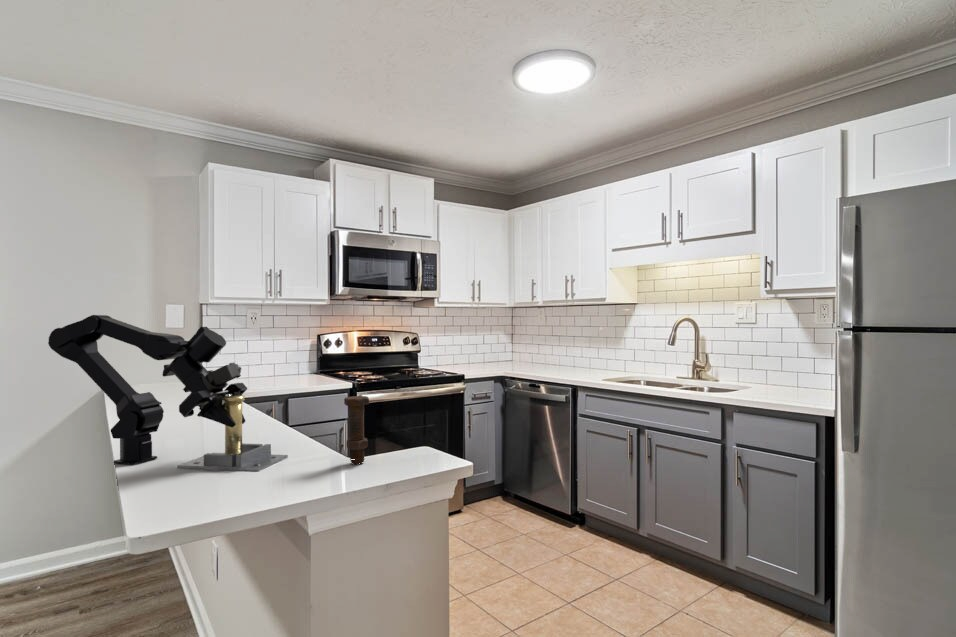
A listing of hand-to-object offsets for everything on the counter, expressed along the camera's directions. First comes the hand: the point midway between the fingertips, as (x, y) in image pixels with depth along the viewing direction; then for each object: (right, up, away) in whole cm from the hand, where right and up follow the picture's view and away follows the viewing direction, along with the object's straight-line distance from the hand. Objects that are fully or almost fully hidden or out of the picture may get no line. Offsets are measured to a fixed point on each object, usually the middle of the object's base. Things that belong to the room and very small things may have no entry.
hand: (239, 424), depth 122 cm
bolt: (+28, -9, -2) cm, 29 cm away
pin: (-1, -7, 0) cm, 7 cm away
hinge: (-1, -9, 0) cm, 9 cm away
